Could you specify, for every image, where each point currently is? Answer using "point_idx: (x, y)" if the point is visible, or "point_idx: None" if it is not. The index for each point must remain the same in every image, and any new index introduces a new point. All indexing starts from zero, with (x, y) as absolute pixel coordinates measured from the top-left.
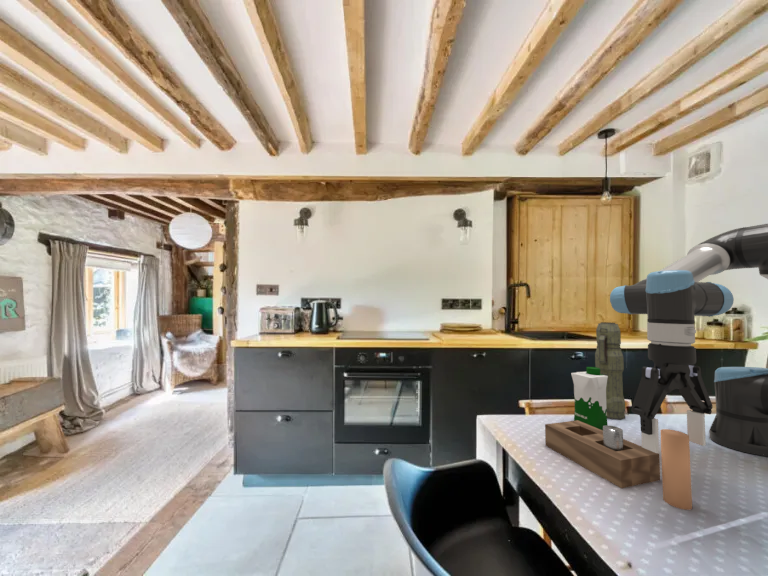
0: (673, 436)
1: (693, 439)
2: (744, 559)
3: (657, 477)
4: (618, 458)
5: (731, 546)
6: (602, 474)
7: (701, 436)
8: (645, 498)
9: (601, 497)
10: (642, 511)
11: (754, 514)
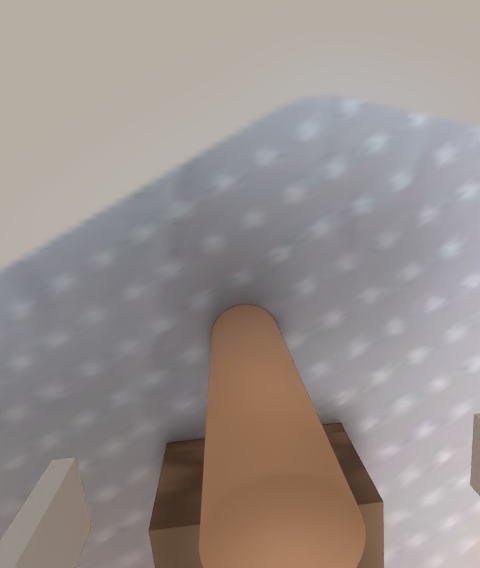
0: (353, 502)
1: (78, 517)
2: (309, 127)
3: (176, 458)
4: (374, 516)
5: (283, 173)
6: None
7: (52, 509)
8: None
9: (424, 412)
10: (370, 339)
11: (29, 271)
